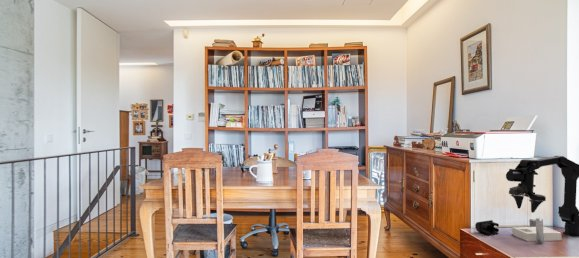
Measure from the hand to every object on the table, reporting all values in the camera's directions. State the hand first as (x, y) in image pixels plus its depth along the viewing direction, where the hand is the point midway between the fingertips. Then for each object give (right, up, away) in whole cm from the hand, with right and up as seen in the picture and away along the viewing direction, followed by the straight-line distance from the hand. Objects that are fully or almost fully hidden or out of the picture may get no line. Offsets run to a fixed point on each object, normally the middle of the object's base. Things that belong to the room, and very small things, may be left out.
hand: (525, 210), depth 170 cm
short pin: (+10, -14, +7) cm, 18 cm away
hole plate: (+4, -14, -2) cm, 15 cm away
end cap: (-16, -15, +7) cm, 24 cm away
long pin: (-1, -14, -11) cm, 18 cm away
